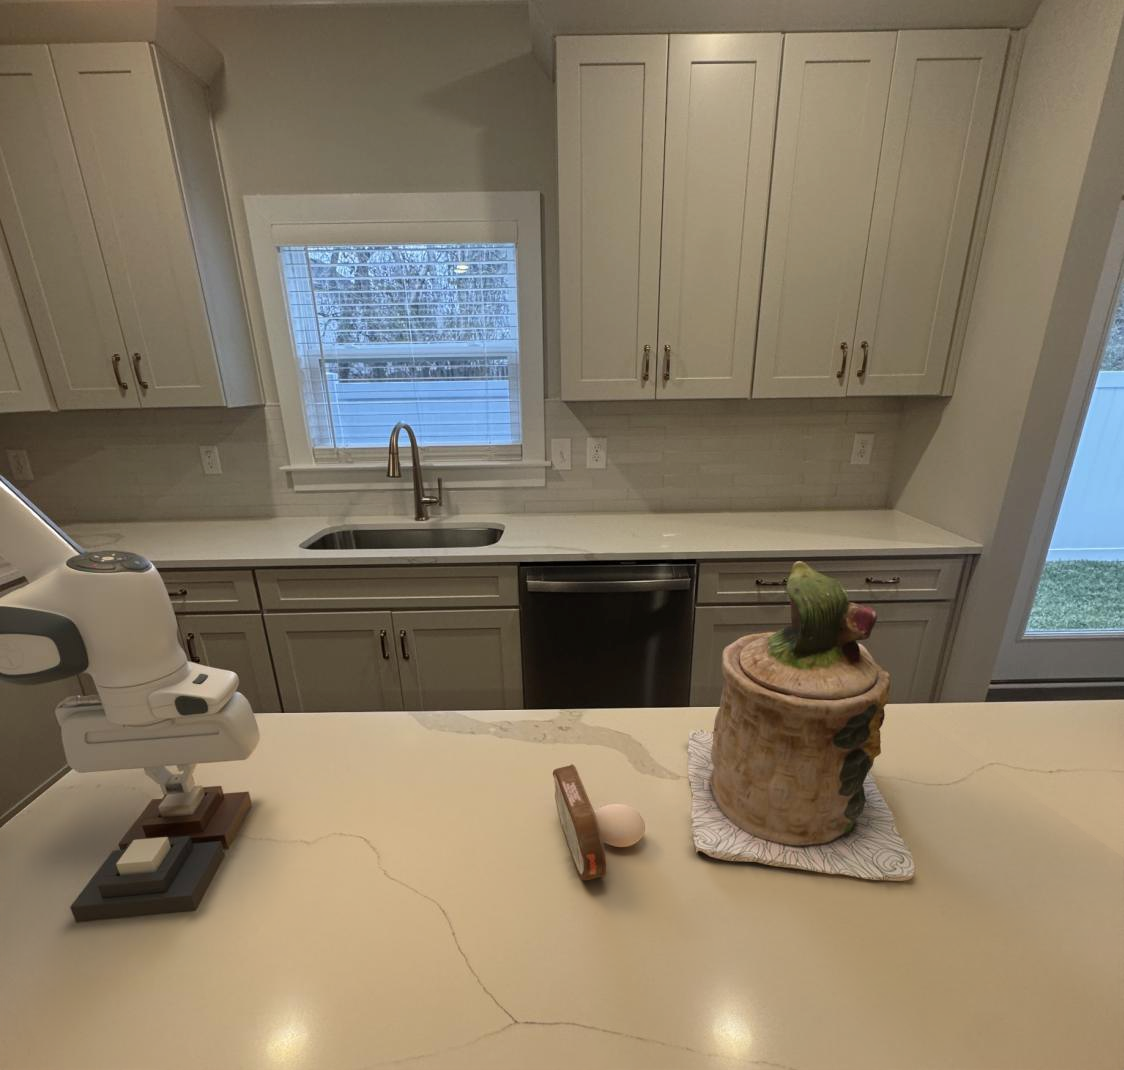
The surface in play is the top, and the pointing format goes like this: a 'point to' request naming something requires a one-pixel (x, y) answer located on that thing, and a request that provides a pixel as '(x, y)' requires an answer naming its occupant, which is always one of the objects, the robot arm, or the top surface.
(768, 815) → the cookie jar
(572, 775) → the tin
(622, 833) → the egg
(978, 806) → the top surface
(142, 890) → the dark grey stepped block
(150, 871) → the key
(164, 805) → the key
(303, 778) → the top surface
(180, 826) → the brown push button base
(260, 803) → the top surface
